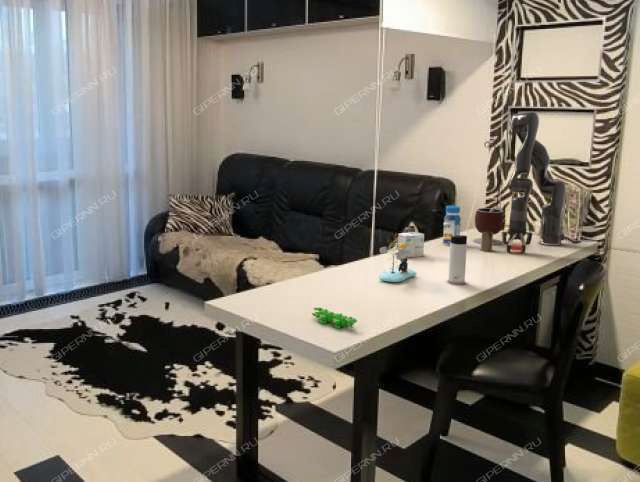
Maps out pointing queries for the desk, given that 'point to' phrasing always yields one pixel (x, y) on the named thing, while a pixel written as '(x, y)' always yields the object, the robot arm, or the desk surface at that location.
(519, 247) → the lid
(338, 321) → the crocodile figurine
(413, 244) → the light bulb box
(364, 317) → the desk surface
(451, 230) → the blue labeled canister
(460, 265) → the travel mug
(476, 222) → the mate gourd
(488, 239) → the jar
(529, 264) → the desk surface
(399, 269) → the penguin figurine
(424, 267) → the desk surface
